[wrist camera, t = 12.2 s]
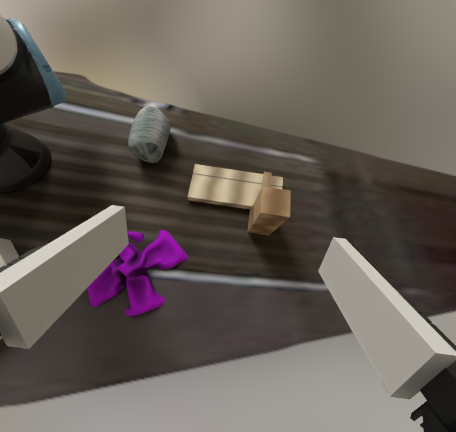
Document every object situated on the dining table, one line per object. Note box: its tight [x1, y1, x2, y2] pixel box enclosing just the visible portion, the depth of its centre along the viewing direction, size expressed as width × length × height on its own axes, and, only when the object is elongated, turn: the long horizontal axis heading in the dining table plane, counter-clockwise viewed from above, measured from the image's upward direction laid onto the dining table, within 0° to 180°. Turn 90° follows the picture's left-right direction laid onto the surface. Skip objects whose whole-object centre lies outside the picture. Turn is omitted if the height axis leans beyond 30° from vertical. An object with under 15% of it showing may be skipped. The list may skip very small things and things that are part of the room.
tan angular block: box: [248, 172, 290, 235], centre depth 39 cm, size 5×13×13 cm, turn 173°
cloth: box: [88, 230, 188, 316], centre depth 37 cm, size 22×19×6 cm
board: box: [188, 164, 283, 210], centre depth 45 cm, size 22×9×2 cm, turn 82°
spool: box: [128, 106, 171, 163], centre depth 46 cm, size 14×10×10 cm
